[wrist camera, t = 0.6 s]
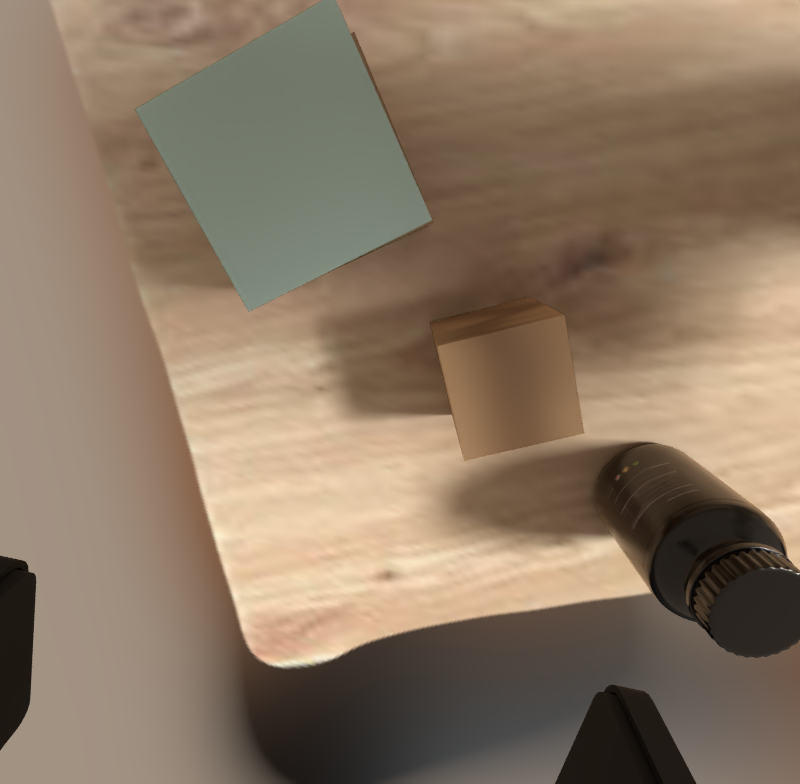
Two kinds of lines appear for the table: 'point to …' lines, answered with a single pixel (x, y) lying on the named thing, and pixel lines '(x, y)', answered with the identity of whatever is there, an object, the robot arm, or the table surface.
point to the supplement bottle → (702, 549)
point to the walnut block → (508, 377)
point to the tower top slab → (287, 156)
